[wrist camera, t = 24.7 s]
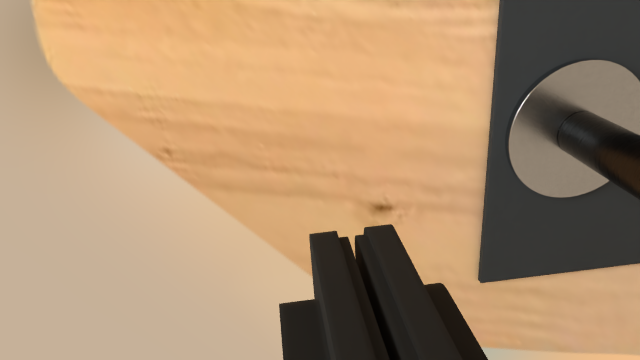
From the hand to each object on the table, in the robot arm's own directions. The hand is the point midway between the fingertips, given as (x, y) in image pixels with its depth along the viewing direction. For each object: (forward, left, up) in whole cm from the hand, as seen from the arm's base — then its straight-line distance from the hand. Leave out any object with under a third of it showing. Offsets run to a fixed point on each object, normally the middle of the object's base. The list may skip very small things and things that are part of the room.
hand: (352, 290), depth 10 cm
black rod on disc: (+17, -5, -20) cm, 27 cm away
